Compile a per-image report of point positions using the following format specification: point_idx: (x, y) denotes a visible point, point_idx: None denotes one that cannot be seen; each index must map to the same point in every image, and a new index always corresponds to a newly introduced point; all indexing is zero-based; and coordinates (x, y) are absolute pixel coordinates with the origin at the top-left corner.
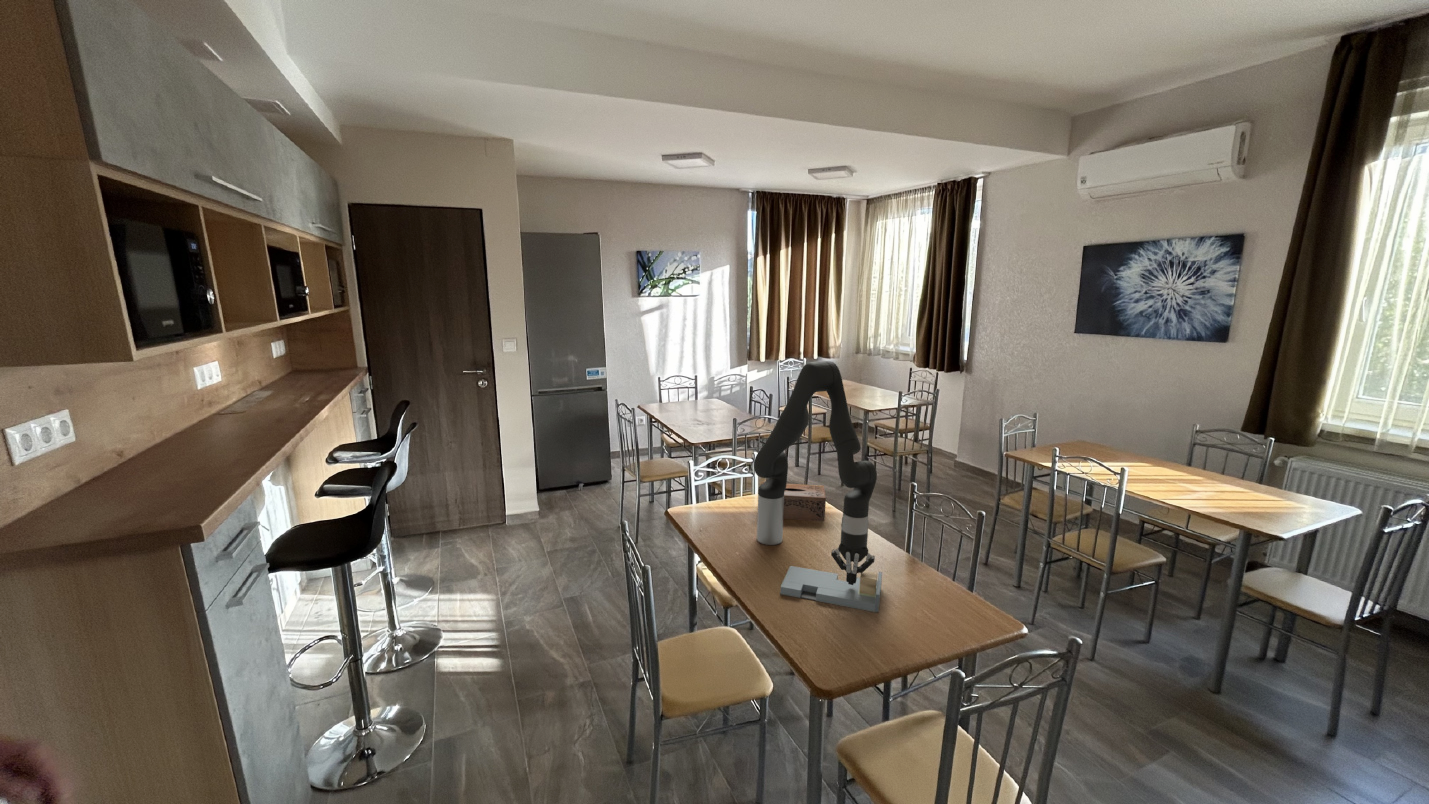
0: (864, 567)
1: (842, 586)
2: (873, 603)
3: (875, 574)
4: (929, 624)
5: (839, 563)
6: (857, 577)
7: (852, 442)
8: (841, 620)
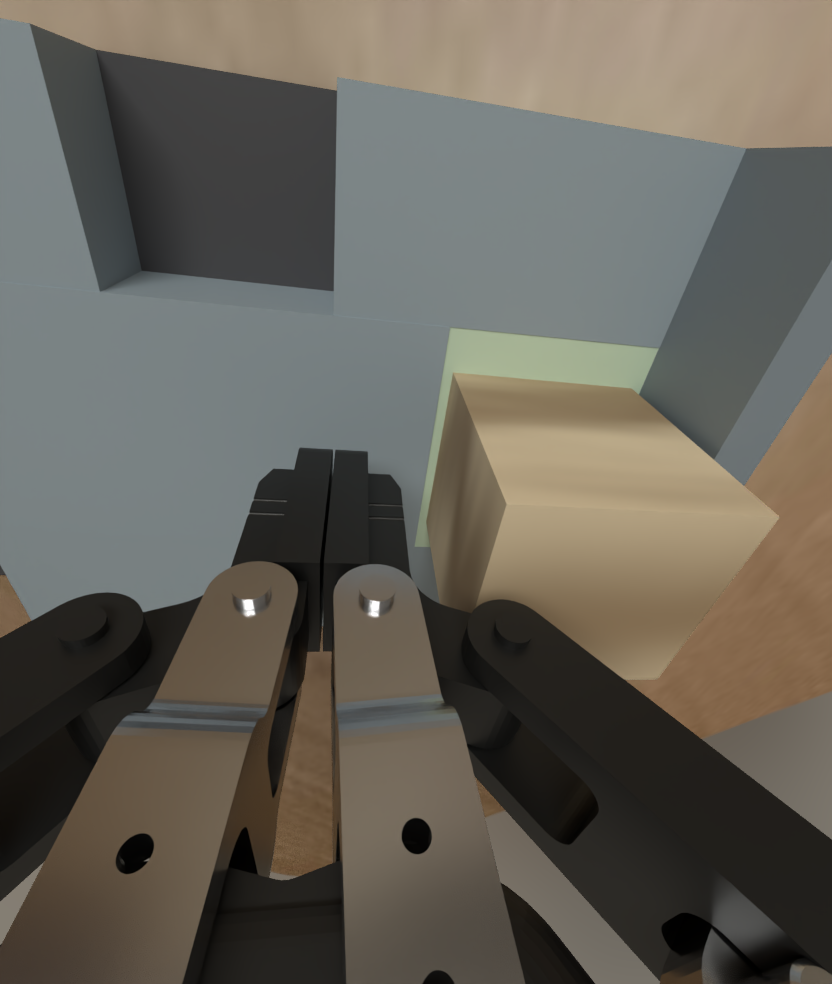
0: (555, 816)
1: (238, 459)
2: None
3: (711, 573)
4: (812, 600)
5: (6, 844)
6: (421, 102)
7: None
8: (314, 685)
